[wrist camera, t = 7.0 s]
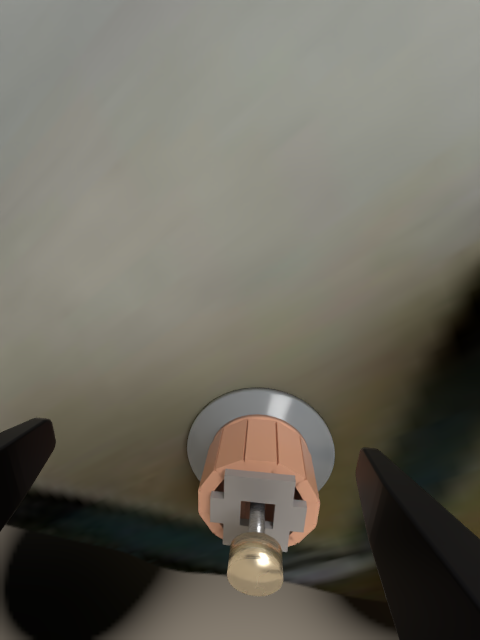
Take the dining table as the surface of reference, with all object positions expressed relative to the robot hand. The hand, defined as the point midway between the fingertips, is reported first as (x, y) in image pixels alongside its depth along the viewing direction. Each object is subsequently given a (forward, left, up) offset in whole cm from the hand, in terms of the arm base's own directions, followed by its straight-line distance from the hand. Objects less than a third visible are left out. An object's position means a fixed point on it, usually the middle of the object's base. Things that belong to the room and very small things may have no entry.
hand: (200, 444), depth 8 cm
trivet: (-12, -2, -13) cm, 18 cm away
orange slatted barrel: (-12, -2, -12) cm, 17 cm away
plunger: (-12, -2, -12) cm, 17 cm away
